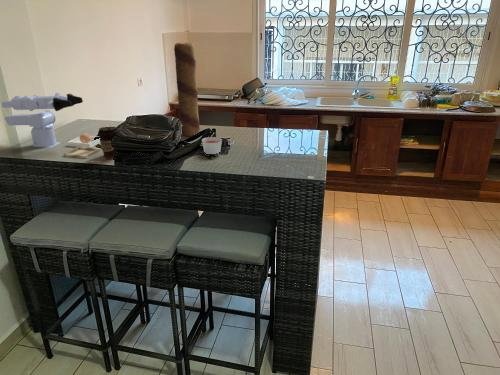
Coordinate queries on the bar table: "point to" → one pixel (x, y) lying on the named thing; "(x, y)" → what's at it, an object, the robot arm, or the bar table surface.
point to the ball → (85, 138)
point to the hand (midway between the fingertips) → (76, 101)
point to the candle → (211, 145)
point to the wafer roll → (187, 88)
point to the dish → (77, 143)
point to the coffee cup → (107, 141)
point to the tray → (82, 152)
